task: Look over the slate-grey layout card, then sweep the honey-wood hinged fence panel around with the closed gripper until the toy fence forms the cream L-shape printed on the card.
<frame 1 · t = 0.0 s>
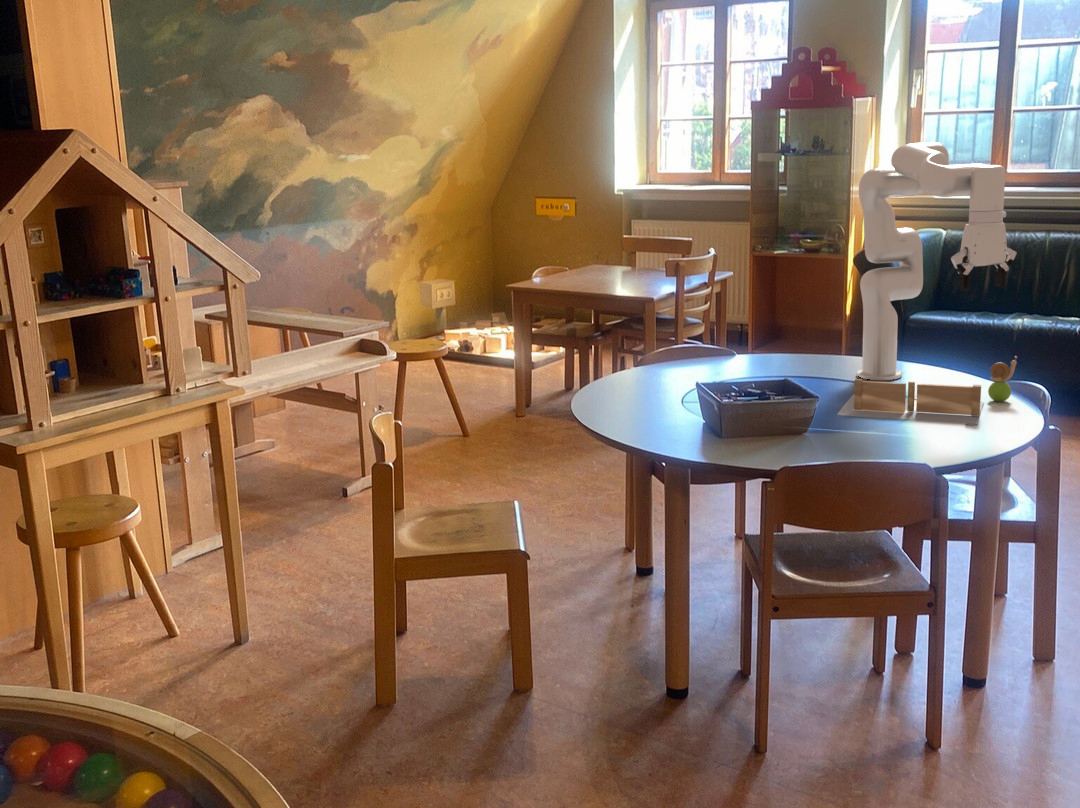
hand: (982, 288, 251), 31 cm above the table, tool pointing down, fingers open, 9 cm apart
fixed fence section: (879, 410, 264), resting on layout card
hinged fence panel: (943, 398, 256), point 5 cm above the table, hinge at 0.0°
layout card: (910, 409, 264), on the table
snail figurine: (1001, 402, 267), on the table
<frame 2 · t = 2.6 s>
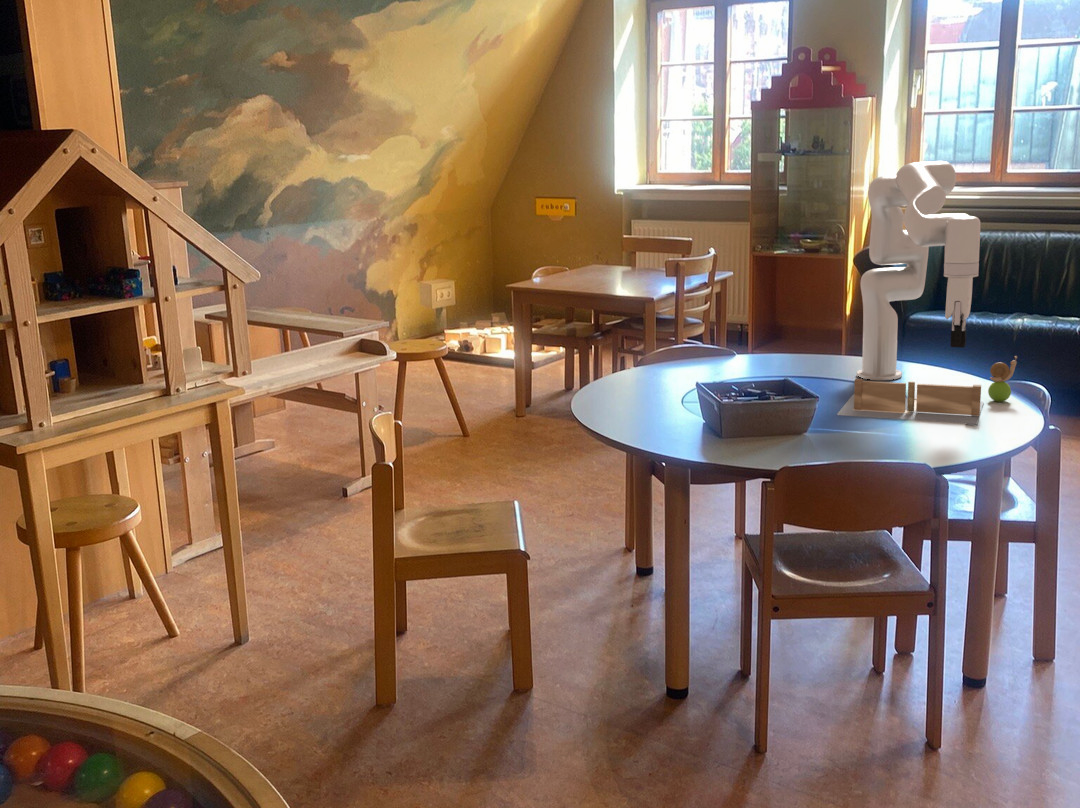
hand: (958, 346, 245), 19 cm above the table, tool pointing down, fingers closed
nothing on the table moved.
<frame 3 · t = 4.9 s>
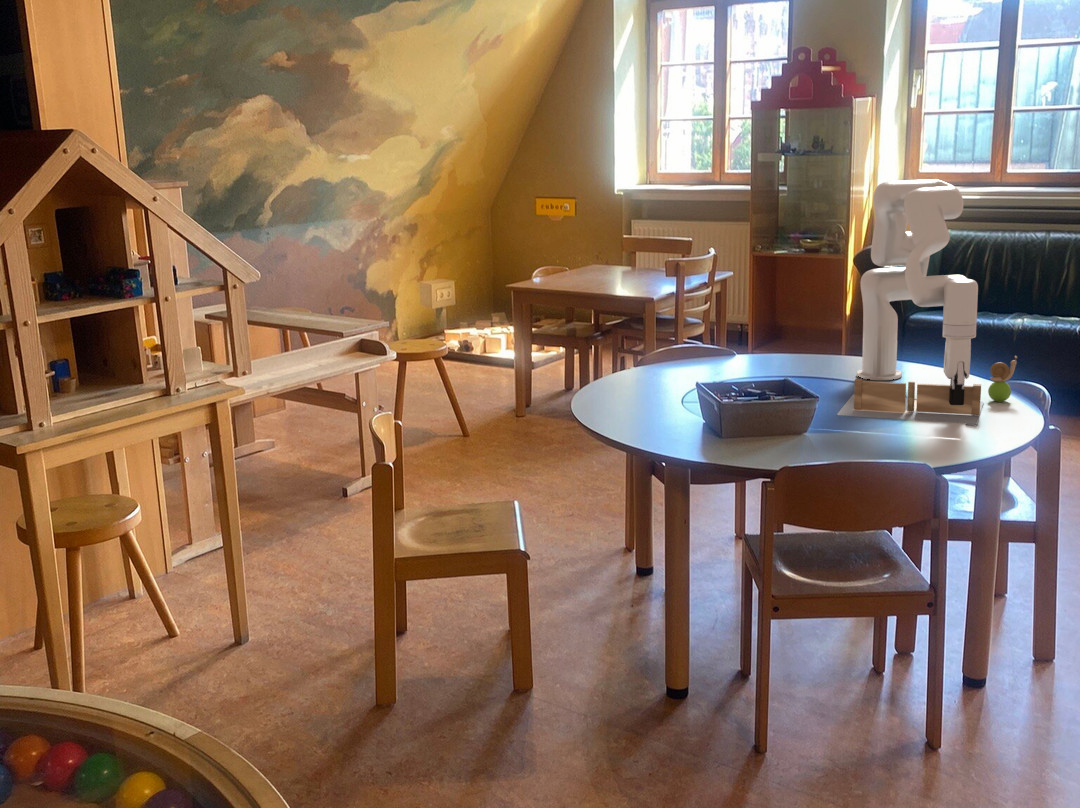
hand: (956, 404, 252), 4 cm above the table, tool pointing down, fingers closed
hinged fence panel: (943, 398, 256), point 5 cm above the table, hinge at 2.2°, touching gripper
everything else where it was.
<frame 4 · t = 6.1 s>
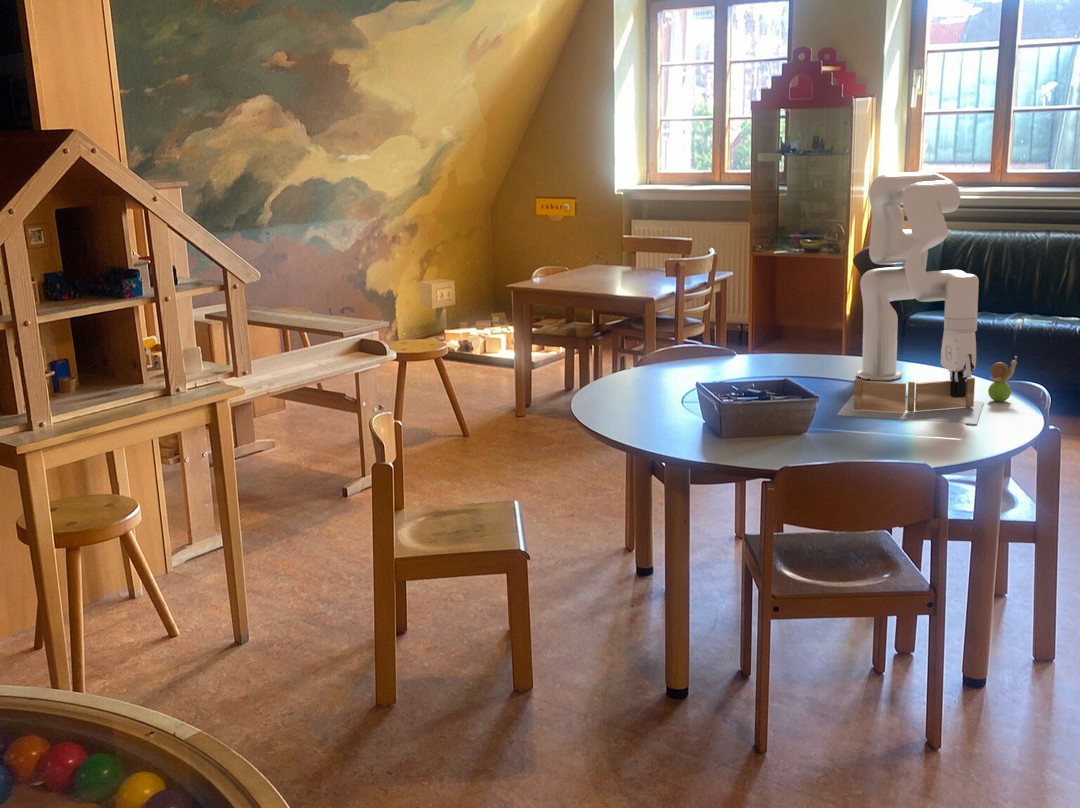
hand: (957, 396, 257), 4 cm above the table, tool pointing down, fingers closed
hinged fence panel: (940, 394, 260), point 5 cm above the table, hinge at 32.1°, touching gripper
everything else where it was.
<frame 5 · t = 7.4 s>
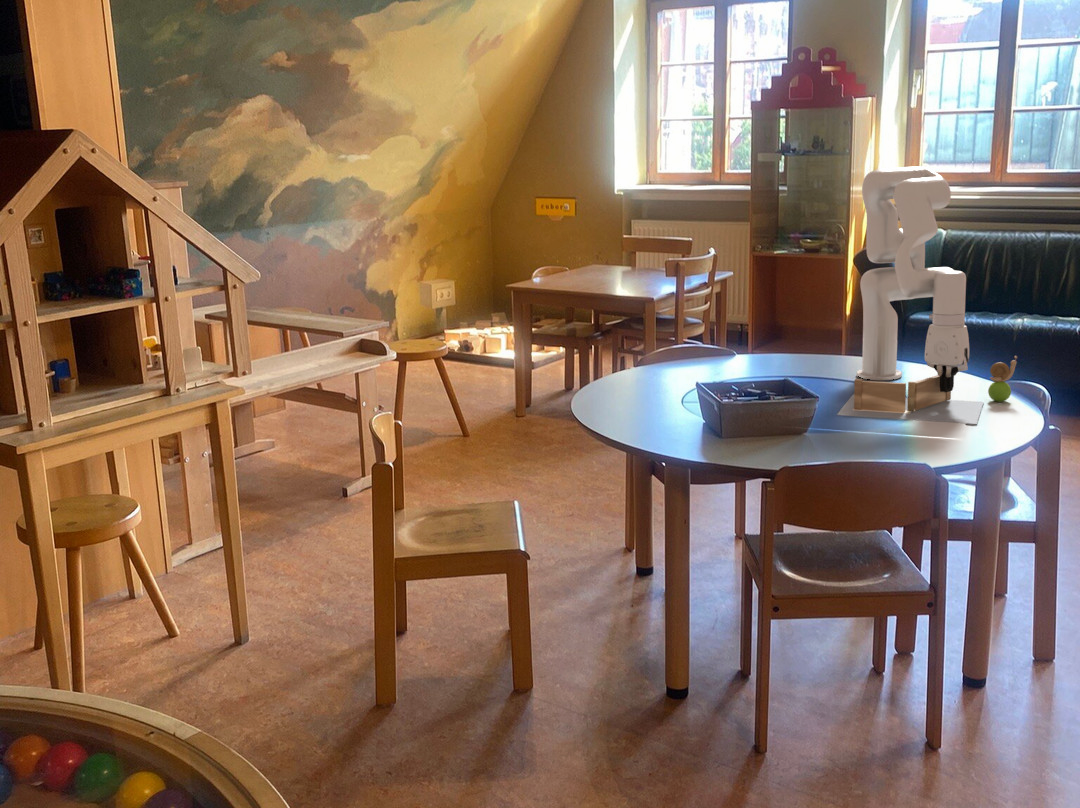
hand: (946, 390, 263), 4 cm above the table, tool pointing down, fingers closed
hinged fence panel: (929, 391, 264), point 5 cm above the table, hinge at 63.1°, touching gripper
everything else where it was.
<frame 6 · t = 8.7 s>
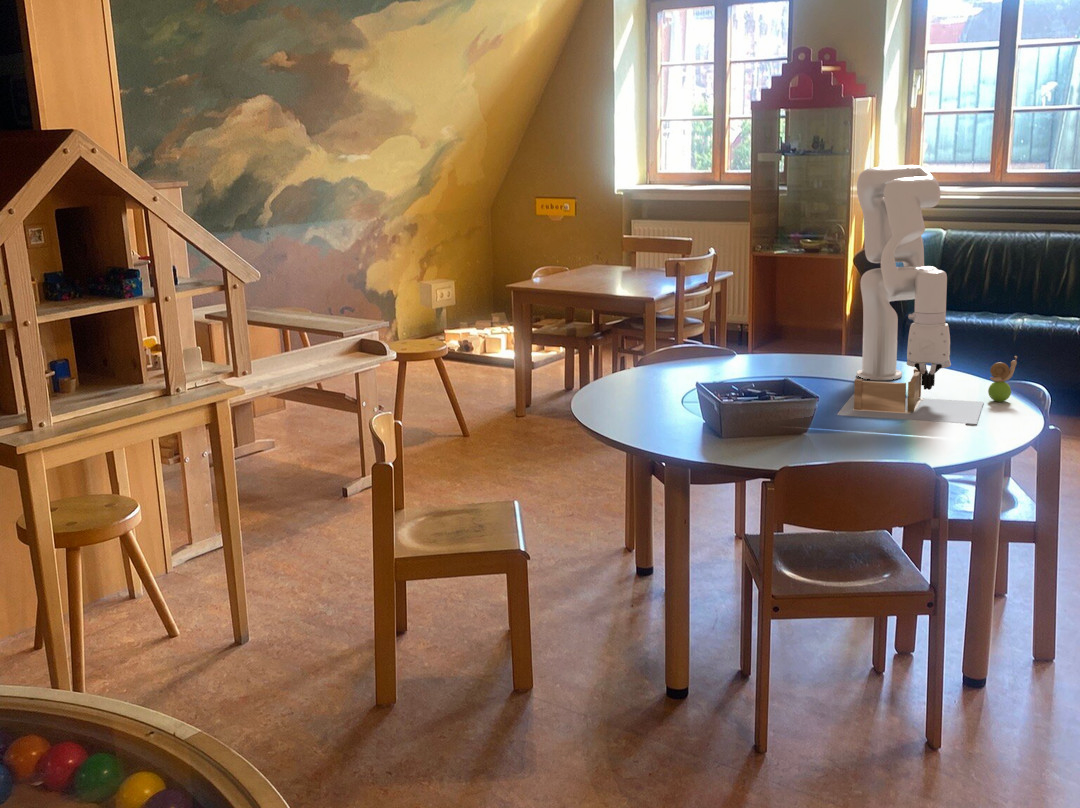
hand: (927, 388, 267), 4 cm above the table, tool pointing down, fingers closed
hinged fence panel: (914, 389, 266), point 5 cm above the table, hinge at 91.6°, touching gripper
everything else where it was.
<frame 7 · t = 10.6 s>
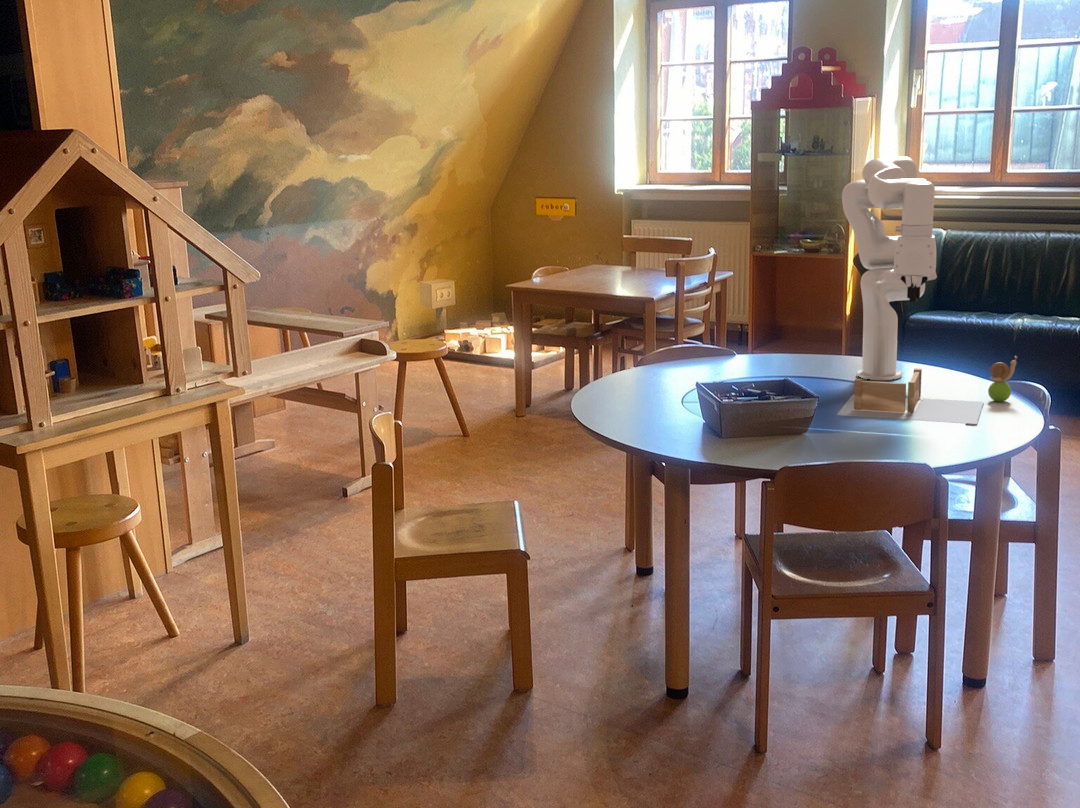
hand: (913, 301, 269), 26 cm above the table, tool pointing down, fingers closed
hinged fence panel: (914, 389, 266), point 5 cm above the table, hinge at 91.6°
everything else where it was.
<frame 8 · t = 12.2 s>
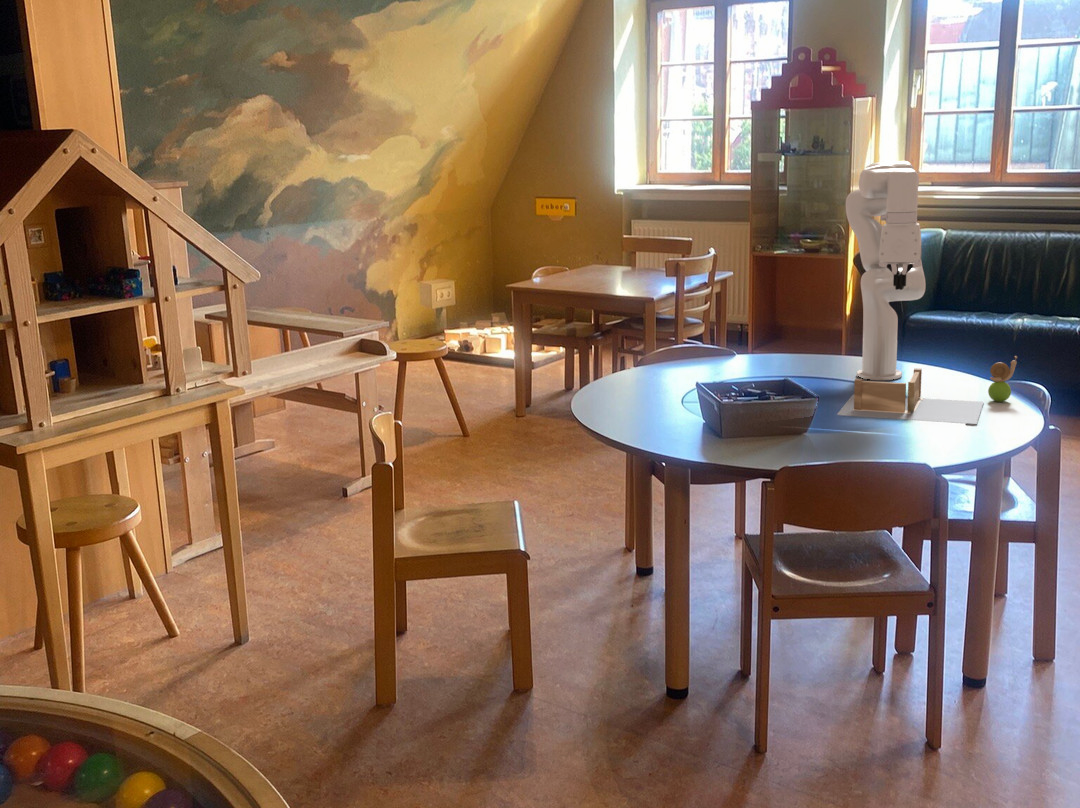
hand: (899, 288, 271), 29 cm above the table, tool pointing down, fingers closed
nothing on the table moved.
at the end: hinged fence panel at +92° (first picture: +0°) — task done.
